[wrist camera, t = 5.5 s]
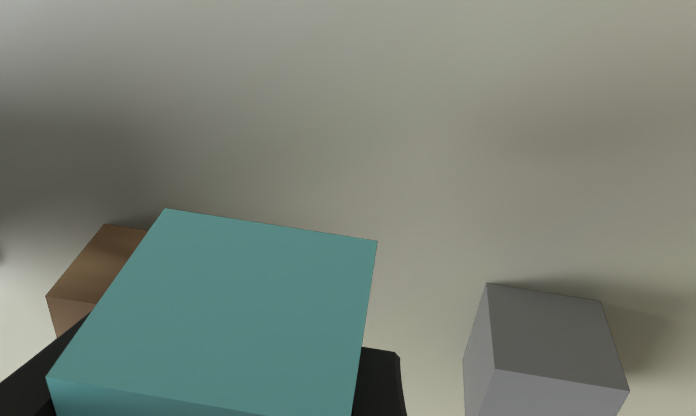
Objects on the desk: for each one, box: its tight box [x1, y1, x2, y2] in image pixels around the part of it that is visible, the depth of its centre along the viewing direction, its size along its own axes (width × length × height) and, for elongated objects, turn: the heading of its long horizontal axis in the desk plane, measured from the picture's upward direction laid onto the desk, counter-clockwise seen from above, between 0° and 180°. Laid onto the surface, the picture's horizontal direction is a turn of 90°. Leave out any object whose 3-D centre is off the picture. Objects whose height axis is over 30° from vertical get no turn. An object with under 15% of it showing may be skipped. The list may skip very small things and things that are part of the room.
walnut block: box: [45, 224, 148, 338], centre depth 21 cm, size 4×4×4 cm
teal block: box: [46, 208, 377, 416], centre depth 10 cm, size 4×4×4 cm
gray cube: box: [463, 283, 630, 416], centre depth 20 cm, size 4×4×4 cm
